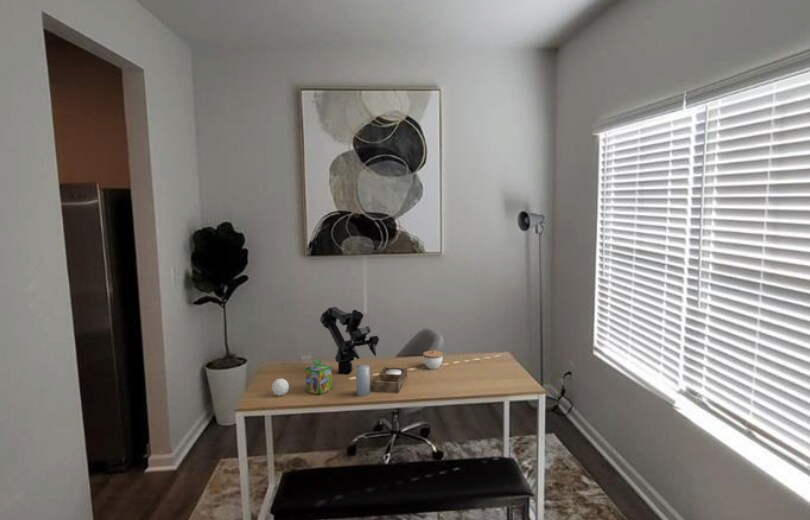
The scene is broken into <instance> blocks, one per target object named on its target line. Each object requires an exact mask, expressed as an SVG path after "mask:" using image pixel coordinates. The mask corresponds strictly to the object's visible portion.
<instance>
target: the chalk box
mask: <svg viewBox="0 0 810 520" xmlns="http://www.w3.org/2000/svg"><path fill="white" fill-rule="evenodd" d="M332 370H333V369H332V366H331V365H327V364H323V363H322V361H321V359H320V358H318V359H315V360H314V361H313V364H312V365H311V366H308V367H306V368H305V390H306V391H307V392H306V391H305V392H306V393H312V394H316V395H319V396H321V395H323V394H325V393H327V392H329V391H331V389H332V390H333V377H332V376H333V374H332V373H333V371H332Z"/></svg>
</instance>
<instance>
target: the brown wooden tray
mask: <svg viewBox="0 0 810 520" xmlns="http://www.w3.org/2000/svg"><path fill="white" fill-rule="evenodd" d="M390 369H398V370H401V375H398V374H386V371H387V370H390ZM407 378H408V367H398V366H396V367H394V366H383V368H382V369H381V371H380V372H379V373H378V375H377V376H376V377H375V379H374V381H373V392H377V391H380V393H394V392H395V393H397V394H399V393H400V392H401V389H402V388H403V385H404V384H405V381H406V380H407Z"/></svg>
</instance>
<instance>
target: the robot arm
mask: <svg viewBox="0 0 810 520" xmlns="http://www.w3.org/2000/svg"><path fill="white" fill-rule="evenodd" d="M351 311H352V312H345V311H343V310H341V309H339V308H338V307H337V306H333V307H329V308H328V307H327V309H326V311H324V312H323V313H322V314H321V316H320V319H319V320H320V321H319V322H320V323H321V324H322V325H323V327H324V328H326V329H327V330H328V331H329V333H330V335H331V337H332V339H333V340H334V343H335V346H336V347H337V352H336V355H335V356H334V359H335V362H336V363H338V365H337V366H338V372H337V374H338V375H341V374H342V375H349V374H351V373H352V372H353V371H354V370H353V369H354V368H353V361H354V360H355V359H356V360H359V359H360V355H359V353H358V352H357V350H356V347H362V346H368V349H369V350H370V352H371V353H372V354H373V356H374V357H376V356H377V350H376V346H378V343H379V341H380V338H379V336H378V335H372V336H369V338H368V339H367V335H369V334H370V333H371V328H370V326H368V325H367V326H365V327H360V328H359V326H361V324H362V321H363V318H364V314H363V313H362V312H360V311H359V310H357V309H353V310H351ZM338 320H339V323H340V324H341V325H342V326H346V327H345V328H346V329H345V333H346V334H347V333H348V335H349V337H350V338H349V340H345V338H344V336H343V335H342V333H341V331H340V329H339V327H338V325H337V321H338Z"/></svg>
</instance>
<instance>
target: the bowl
mask: <svg viewBox="0 0 810 520" xmlns="http://www.w3.org/2000/svg"><path fill="white" fill-rule="evenodd" d="M386 374H398V375H401V370H398V369H390V370H387V371H386Z"/></svg>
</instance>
